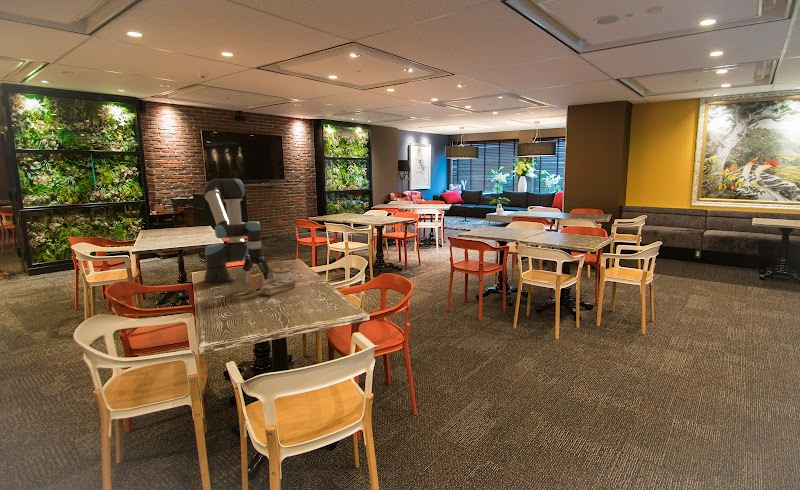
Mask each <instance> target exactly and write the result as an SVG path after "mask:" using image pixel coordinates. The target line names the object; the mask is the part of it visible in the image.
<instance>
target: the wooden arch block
mask: <svg viewBox="0 0 800 490" xmlns="http://www.w3.org/2000/svg"><path fill="white" fill-rule="evenodd" d="M262 274H263V273H262V272H261V273H255V274H251V276H249V277H250V282H249V290H250V292H257V287H258V289H259V290H260V287H261V286H264V285H263V279H262ZM256 281H257V282H256Z"/></svg>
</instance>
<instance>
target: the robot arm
mask: <svg viewBox="0 0 800 490" xmlns="http://www.w3.org/2000/svg"><path fill="white" fill-rule="evenodd" d="M245 192H246V190H245V186H244V183H243V182H242V180H241V179H239V178H214V179H211V180H209V182H207V183H206V185H205V186H204V189H203V197H204V200H206V201H207V203H208V204H209V205H208V206H209V208H210V211H211V213H212V216H213V219H214V221H215V224H216V225H215V227H214V234H215V237H216V238H217V239H228V238H229V239H228V240H227V242H226V244H225V243H224V242H219V243H218V242H217V243H212V244H209V245H207V246H206V247H205V248H204V253H205V254H204V255H205V264H206V267H205V268H206V271H205V275H204V282H205V283H209V284H214V283H215V284H217V283H223V282H228V281H229V280H230V279H231V275H230V273H229V270H228V269H227V264H229V263H235V262H236V263H237V262H244V263H243V267H242V270H243V271H244V272H245V277H246V283H250V277H249V276H251V275H252V274H251V269H252V266H253V265H254V264H255V265H256V266H258V268H259V270H261V271H260V272H261V274H262V279H263V285H268V274H270V273H271V271H270V267H269V266H268V263H267V260H266V256H261V255H262V253H263V251H262V250H263V249H262V235H261V234H262V233H261V228H262V227H261V223H260V222H259V221H255V220H254V221H253V220H252V221H247V222H243V221H242V220H243V219H242V209H241V201H242V200H243V197H245ZM223 201H224V203H225V205H226V207H225V206H224V203H223ZM244 237H247V239H245V238H244Z"/></svg>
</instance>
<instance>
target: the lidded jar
mask: <svg viewBox="0 0 800 490" xmlns="http://www.w3.org/2000/svg"><path fill="white" fill-rule="evenodd" d="M272 276H273V279H274V280H275V282H278V281H281V280H284V279H287V280H290V277H291V268H288V267H283V266H280V267H278V268H273V269H272Z"/></svg>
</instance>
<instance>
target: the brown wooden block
mask: <svg viewBox="0 0 800 490" xmlns="http://www.w3.org/2000/svg"><path fill="white" fill-rule="evenodd" d="M294 288H296V280H293V279H288V280H287V279H284V280H281V281H278V282H277V281H275V282H272V283H269V284H268V283H267V284H266V285H264V286H261V287H260V289H259V291H260V292H259V293H260V294H261V295H265V296H273V295H276V294H279V293H283V292H285V291H289V290H291V289H294Z"/></svg>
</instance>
